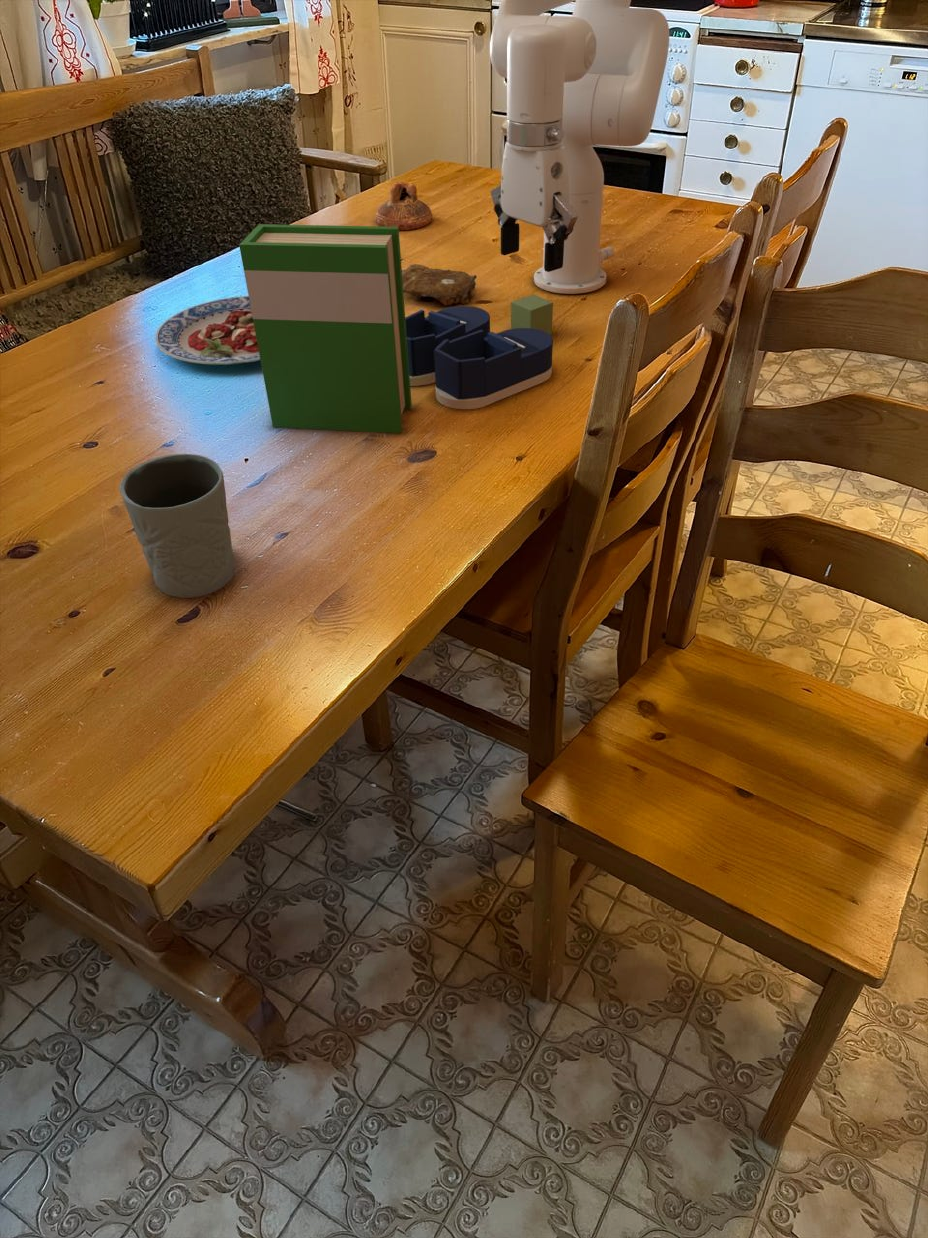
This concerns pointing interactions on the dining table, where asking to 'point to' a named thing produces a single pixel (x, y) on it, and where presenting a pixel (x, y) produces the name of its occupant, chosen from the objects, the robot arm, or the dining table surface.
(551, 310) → the green block
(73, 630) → the dining table surface
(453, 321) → the sneaker
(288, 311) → the hardback book
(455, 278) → the decorative rock
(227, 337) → the ceramic plate
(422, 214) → the bell
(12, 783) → the dining table surface
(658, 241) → the dining table surface
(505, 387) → the sneaker
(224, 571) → the grey embossed cup
